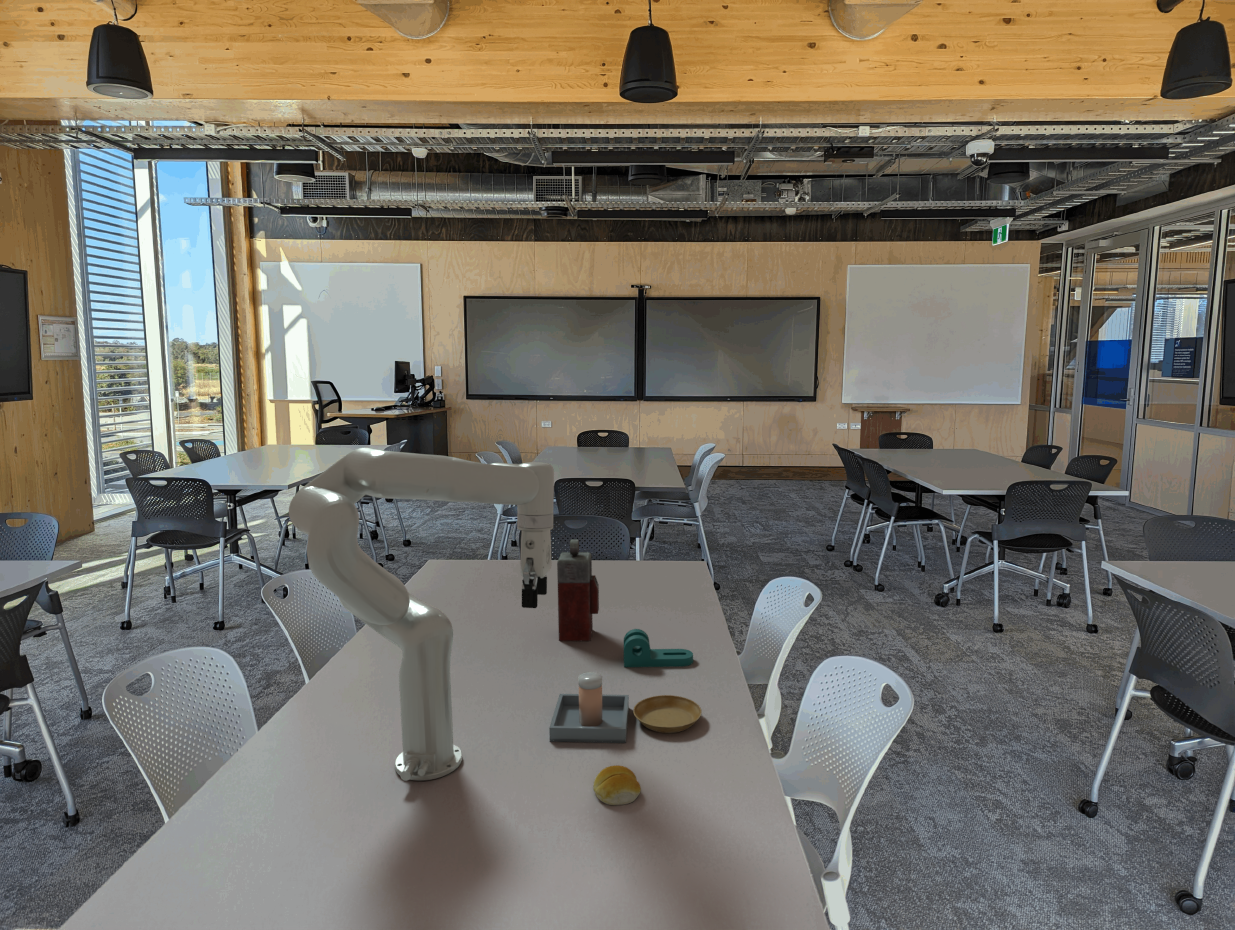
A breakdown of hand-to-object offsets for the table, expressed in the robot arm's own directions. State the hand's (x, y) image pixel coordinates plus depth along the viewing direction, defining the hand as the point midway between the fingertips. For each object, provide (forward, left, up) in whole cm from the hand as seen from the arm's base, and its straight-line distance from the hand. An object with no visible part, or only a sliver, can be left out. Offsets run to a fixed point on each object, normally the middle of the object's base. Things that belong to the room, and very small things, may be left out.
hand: (534, 600), depth 154 cm
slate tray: (-1, -12, -27) cm, 29 cm away
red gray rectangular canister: (+51, -4, -27) cm, 58 cm away
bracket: (+33, -26, -27) cm, 50 cm away
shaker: (-1, -12, -26) cm, 29 cm away
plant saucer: (+1, -28, -27) cm, 39 cm away
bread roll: (-26, -19, -27) cm, 42 cm away
